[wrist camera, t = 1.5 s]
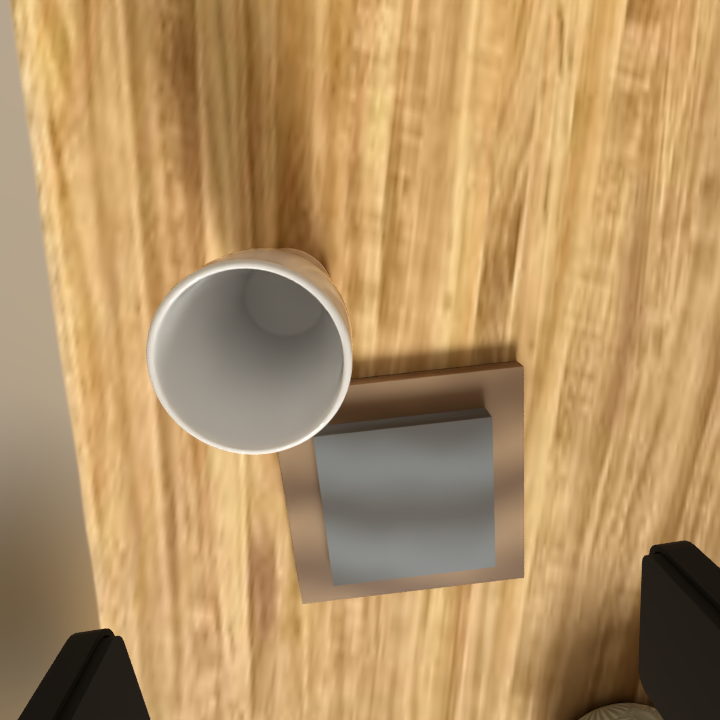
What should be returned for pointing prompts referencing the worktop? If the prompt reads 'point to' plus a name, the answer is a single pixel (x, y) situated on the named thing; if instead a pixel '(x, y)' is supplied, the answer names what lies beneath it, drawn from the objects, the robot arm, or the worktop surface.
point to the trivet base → (405, 402)
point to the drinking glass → (252, 350)
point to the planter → (623, 712)
